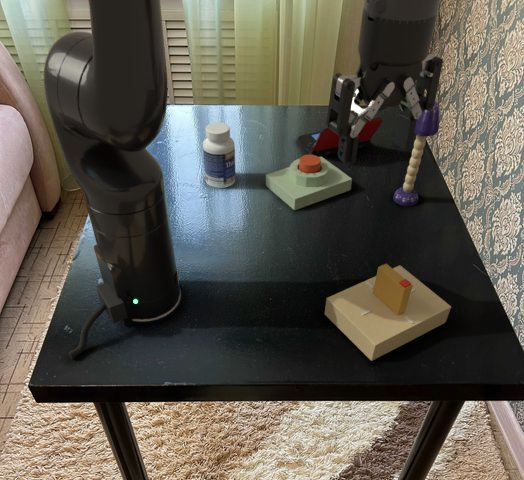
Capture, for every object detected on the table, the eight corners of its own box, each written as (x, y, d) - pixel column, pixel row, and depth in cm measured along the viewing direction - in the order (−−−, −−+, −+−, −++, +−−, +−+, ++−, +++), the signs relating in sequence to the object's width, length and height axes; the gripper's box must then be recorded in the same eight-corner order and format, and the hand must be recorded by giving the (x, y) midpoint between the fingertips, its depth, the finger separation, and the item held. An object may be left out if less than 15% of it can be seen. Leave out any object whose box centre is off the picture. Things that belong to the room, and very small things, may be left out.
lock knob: (372, 293, 72) (378, 265, 68) (380, 289, 72) (386, 261, 69) (397, 315, 69) (405, 287, 66) (405, 311, 70) (413, 283, 66)
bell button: (307, 176, 90) (307, 167, 89) (294, 167, 92) (295, 157, 91) (324, 171, 91) (325, 161, 90) (311, 161, 93) (312, 152, 92)
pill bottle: (231, 190, 94) (229, 137, 86) (202, 187, 94) (197, 133, 87) (238, 174, 97) (237, 122, 90) (210, 171, 98) (206, 118, 91)
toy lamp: (425, 203, 91) (451, 105, 79) (403, 211, 90) (427, 112, 77) (407, 190, 94) (430, 93, 82) (386, 197, 93) (406, 99, 80)
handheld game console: (352, 130, 109) (357, 93, 103) (378, 155, 102) (385, 117, 97) (295, 140, 106) (297, 103, 100) (318, 167, 99) (322, 128, 94)
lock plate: (371, 361, 68) (375, 344, 66) (324, 314, 73) (326, 297, 71) (445, 322, 73) (452, 305, 70) (395, 281, 78) (400, 264, 76)
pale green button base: (294, 210, 90) (295, 189, 87) (265, 185, 95) (265, 164, 92) (350, 190, 94) (353, 169, 91) (320, 167, 99) (322, 146, 96)
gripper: (428, -15, 59) (399, 128, 71) (322, 5, 54) (310, 155, 66) (478, 4, 55) (438, 153, 67) (368, 28, 50) (346, 184, 62)
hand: (374, 154), depth 67 cm, fingers open, 8 cm apart
